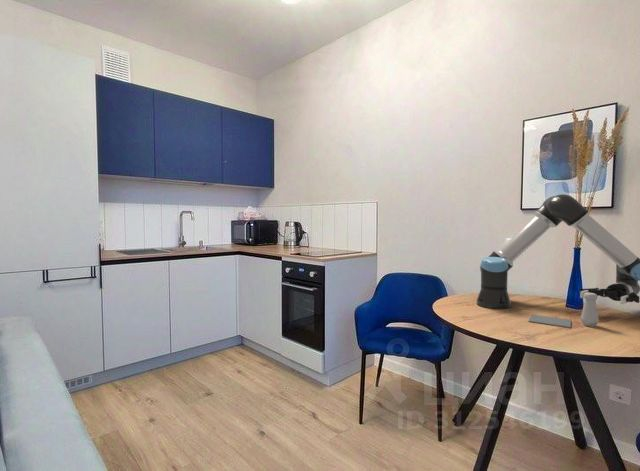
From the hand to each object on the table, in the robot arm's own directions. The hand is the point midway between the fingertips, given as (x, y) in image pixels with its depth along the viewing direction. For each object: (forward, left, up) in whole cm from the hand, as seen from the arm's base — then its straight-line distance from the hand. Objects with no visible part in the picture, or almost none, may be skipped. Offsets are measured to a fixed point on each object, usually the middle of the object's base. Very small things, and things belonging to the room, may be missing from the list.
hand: (600, 297), depth 142 cm
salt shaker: (-4, -9, -10) cm, 14 cm away
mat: (-17, -12, -10) cm, 23 cm away
